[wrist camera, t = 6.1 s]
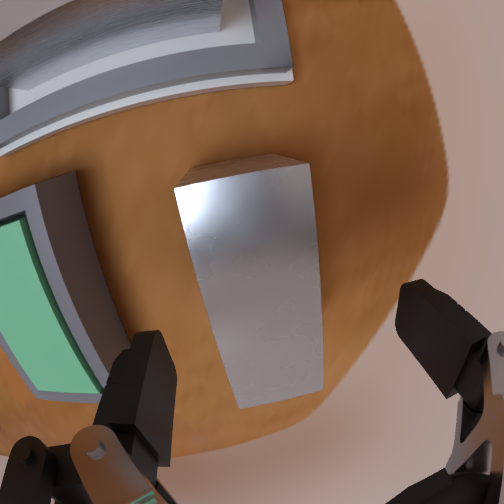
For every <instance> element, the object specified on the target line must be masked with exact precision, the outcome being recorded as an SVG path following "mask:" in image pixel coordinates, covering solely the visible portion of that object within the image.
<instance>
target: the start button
mask: <svg viewBox="0 0 504 504" xmlns="http://www.w3.org/2000/svg"><path fill="white" fill-rule="evenodd" d="M0 331H1V333H2V335H3V337H4V339H5V340H6V342H7V344H8V346H9V347H10V349H11V351H12V352H13V354H14V355H15V357H16V359H17V360H18V362H19V363H20V365H21V366H22V368H23V369H24V371H25V372H26V374H27V375H28V377H29V378H30V380H31V381H32V383H33V384H34V385H35V387H36V388H37V389H38V390H40V391H51V392H66V393H89V394H100V391H101V388H102V385H101V384H100V382H99V380H98V379H97V377H96V376H95V374H94V372H93V371H92V369H91V367H90V366H89V364H88V362H87V360H86V359H85V357H84V355H83V353H82V352H81V350H80V348H79V346H78V344H77V342H76V340H75V339H74V337H73V335H72V333H71V331H70V329H69V327H68V325H67V323H66V321H65V319H64V316H63V314H62V312H61V310H60V308H59V306H58V303H57V301H56V299H55V296H54V294H53V292H52V289H51V287H50V284H49V282H48V279H47V277H46V274H45V272H44V269H43V266H42V264H41V261H40V258H39V255H38V252H37V249H36V246H35V243H34V240H33V237H32V233H31V230H30V227H29V223H28V220H27V216H26V214H25V215H23V216H20V217H17V218H14V219H11V220H9V221H6V222H3V223H1V224H0Z"/></svg>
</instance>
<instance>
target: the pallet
mask: <svg viewBox="0 0 504 504" xmlns="http://www.w3.org/2000/svg"><path fill="white" fill-rule="evenodd" d="M292 68H293V62H292V56H291V50H290V43H289V38H288V32H287V26H286V21H285V15H284V10H283V5H282V0H222V11H221V23H220V32H213V33H206V34H199V35H193V36H187V37H181V38H176V39H171V40H166V41H162V42H157V43H153V44H149V45H145V46H141V47H137V48H134V49H130V50H127V51H123V52H120V53H117V54H114V55H111V56H108V57H105V58H102V59H99V60H96V61H93V62H91V63H88V64H85V65H83V66H80V67H78V68H75V69H73V70H70V71H68V72H66V73H63V74H61V75H59V76H57V77H55V78H52V79H50V80H48V81H46V82H44V83H42V84H40V85H38V86H36V87H34V88H32V89H30V90H29V91H27V90H21V89H14V88H6V87H0V157H5V156H9V155H11V154H13V153H15V152H17V151H19V150H21V149H23V148H25V147H27V146H29V145H32V144H34V143H36V142H38V141H40V140H43V139H45V138H47V137H50V136H52V135H55V134H57V133H60V132H62V131H65V130H67V129H70V128H73V127H75V126H78V125H81V124H84V123H87V122H90V121H93V120H96V119H99V118H102V117H105V116H108V115H111V114H115V113H118V112H122V111H125V110H129V109H132V108H136V107H140V106H144V105H148V104H152V103H157V102H161V101H166V100H170V99H175V98H180V97H186V96H191V95H197V94H203V93H209V92H216V91H223V90H231V89H240V88H250V87H262V86H276V85H288V84H289V83H291V82H292V81H294V79H293V72H292Z"/></svg>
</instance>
